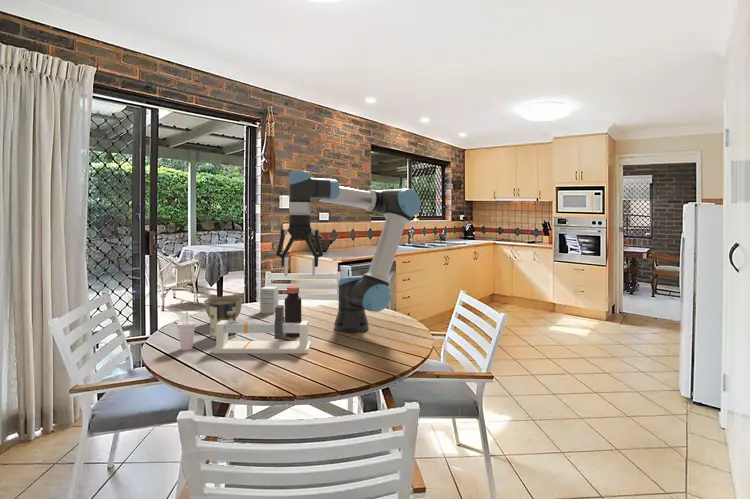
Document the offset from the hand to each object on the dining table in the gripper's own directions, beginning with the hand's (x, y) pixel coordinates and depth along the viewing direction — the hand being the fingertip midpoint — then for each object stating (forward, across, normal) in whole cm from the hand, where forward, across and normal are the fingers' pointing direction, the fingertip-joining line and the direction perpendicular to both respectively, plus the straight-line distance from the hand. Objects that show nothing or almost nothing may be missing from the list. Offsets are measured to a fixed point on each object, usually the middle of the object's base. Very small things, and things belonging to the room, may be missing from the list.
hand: (299, 275), depth 157 cm
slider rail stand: (+28, +14, 0) cm, 31 cm away
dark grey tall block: (+23, +7, 0) cm, 24 cm away
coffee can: (+28, +34, -17) cm, 47 cm away
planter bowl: (+28, +40, -37) cm, 61 cm away
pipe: (+21, +14, 0) cm, 25 cm away
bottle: (+28, +6, -19) cm, 34 cm away
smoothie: (+28, +42, 0) cm, 50 cm away
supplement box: (+28, +24, -61) cm, 71 cm away
